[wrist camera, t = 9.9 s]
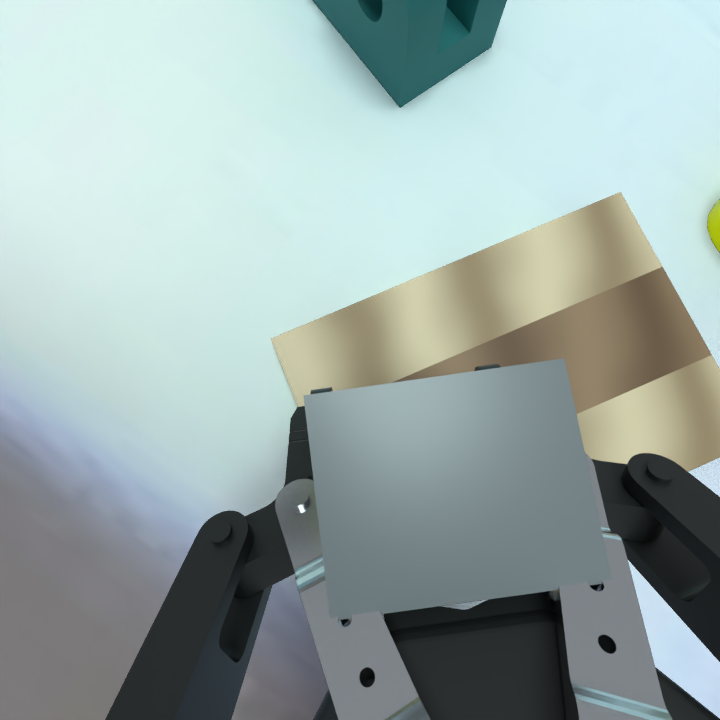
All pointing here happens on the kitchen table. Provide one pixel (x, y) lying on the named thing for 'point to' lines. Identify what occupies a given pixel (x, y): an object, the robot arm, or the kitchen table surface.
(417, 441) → the grey upright block
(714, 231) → the element tile
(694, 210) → the kitchen table surface
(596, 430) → the plywood panel
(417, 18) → the bracket
